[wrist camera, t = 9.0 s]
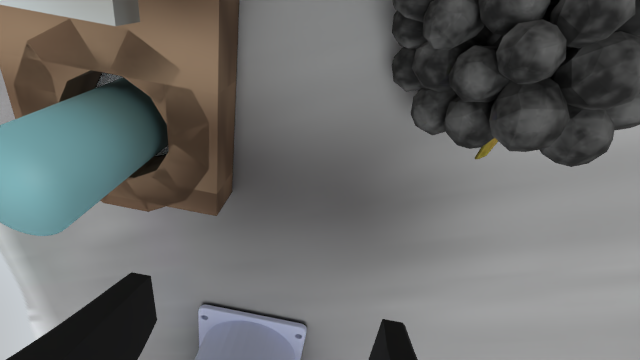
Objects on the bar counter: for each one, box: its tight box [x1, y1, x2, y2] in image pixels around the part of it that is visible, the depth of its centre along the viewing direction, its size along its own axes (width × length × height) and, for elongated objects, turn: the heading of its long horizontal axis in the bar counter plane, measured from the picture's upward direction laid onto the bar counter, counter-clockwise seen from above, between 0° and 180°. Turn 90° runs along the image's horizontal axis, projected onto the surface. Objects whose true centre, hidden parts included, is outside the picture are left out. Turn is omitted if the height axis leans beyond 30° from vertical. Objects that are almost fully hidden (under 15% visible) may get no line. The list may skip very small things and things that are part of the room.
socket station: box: [0, 0, 239, 216], centre depth 13 cm, size 16×10×9 cm, turn 171°
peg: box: [0, 78, 168, 236], centre depth 15 cm, size 4×4×8 cm
